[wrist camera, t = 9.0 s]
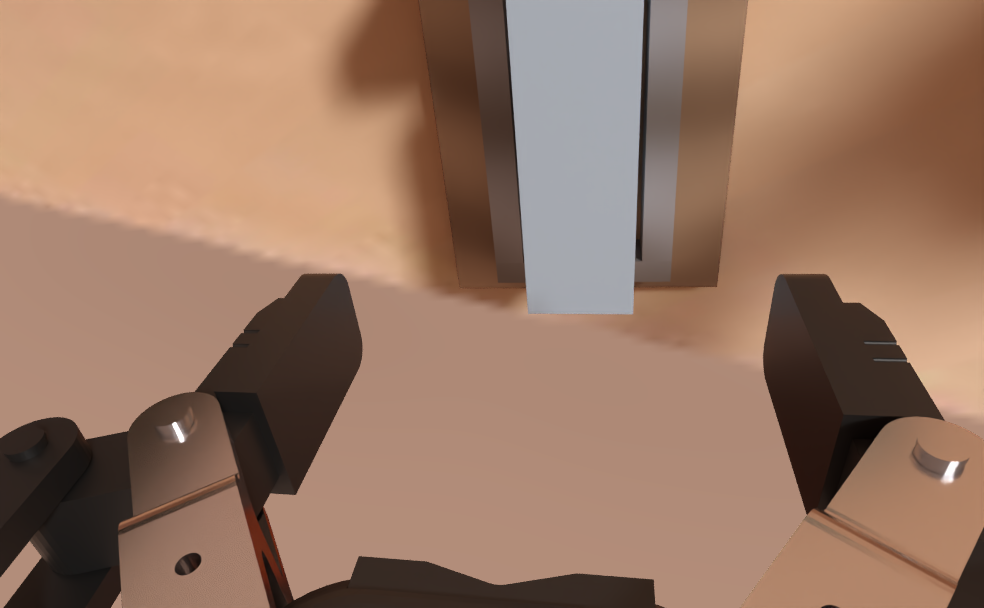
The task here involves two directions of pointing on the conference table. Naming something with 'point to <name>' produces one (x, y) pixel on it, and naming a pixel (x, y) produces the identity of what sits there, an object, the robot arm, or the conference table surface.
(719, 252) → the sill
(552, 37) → the gray rectangular block
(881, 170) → the conference table surface
